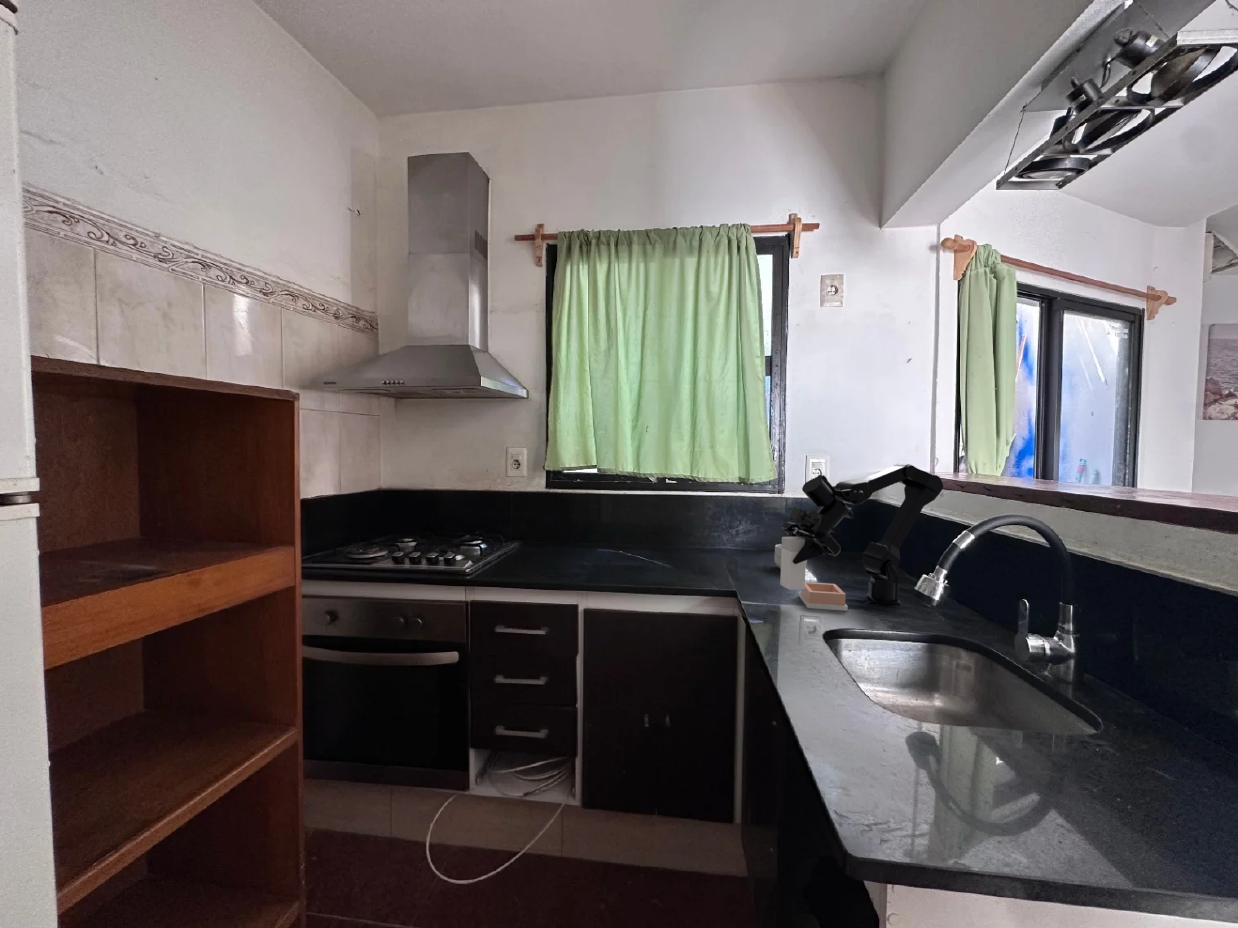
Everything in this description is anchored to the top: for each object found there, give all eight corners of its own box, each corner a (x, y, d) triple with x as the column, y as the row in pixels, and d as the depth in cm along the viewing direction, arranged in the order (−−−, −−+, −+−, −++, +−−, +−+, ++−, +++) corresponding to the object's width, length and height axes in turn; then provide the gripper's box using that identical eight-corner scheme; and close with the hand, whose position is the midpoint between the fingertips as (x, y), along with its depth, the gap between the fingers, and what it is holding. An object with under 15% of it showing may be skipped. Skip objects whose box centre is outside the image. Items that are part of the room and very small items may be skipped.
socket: (835, 598, 132) (836, 583, 131) (847, 610, 122) (848, 594, 122) (798, 595, 133) (799, 581, 133) (807, 607, 123) (808, 592, 123)
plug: (794, 583, 126) (796, 536, 126) (804, 588, 122) (806, 539, 121) (780, 584, 125) (781, 536, 125) (789, 589, 121) (791, 540, 120)
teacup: (777, 564, 168) (778, 542, 168) (809, 568, 162) (810, 546, 162) (768, 573, 156) (769, 549, 156) (803, 578, 151) (803, 554, 150)
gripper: (788, 493, 132) (752, 532, 131) (831, 502, 114) (790, 548, 112) (812, 520, 134) (776, 559, 133) (858, 533, 116) (817, 578, 114)
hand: (788, 560), depth 123 cm, fingers closed on plug, 4 cm apart
